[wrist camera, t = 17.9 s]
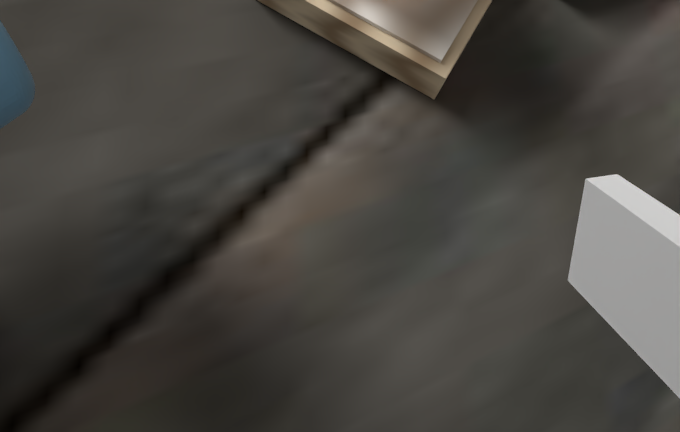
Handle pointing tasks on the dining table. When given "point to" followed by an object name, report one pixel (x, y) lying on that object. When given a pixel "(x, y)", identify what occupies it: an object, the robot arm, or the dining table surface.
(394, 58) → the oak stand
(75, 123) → the dining table surface
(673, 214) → the robot arm
